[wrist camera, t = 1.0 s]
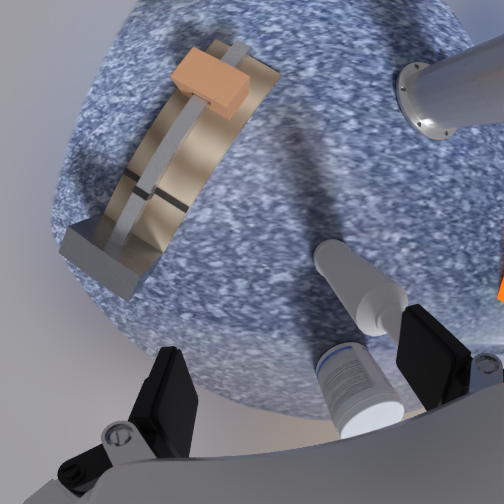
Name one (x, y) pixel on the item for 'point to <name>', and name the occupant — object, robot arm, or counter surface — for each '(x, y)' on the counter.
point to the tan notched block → (212, 82)
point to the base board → (187, 155)
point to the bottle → (362, 289)
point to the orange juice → (501, 292)
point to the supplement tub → (357, 391)
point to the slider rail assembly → (135, 211)
